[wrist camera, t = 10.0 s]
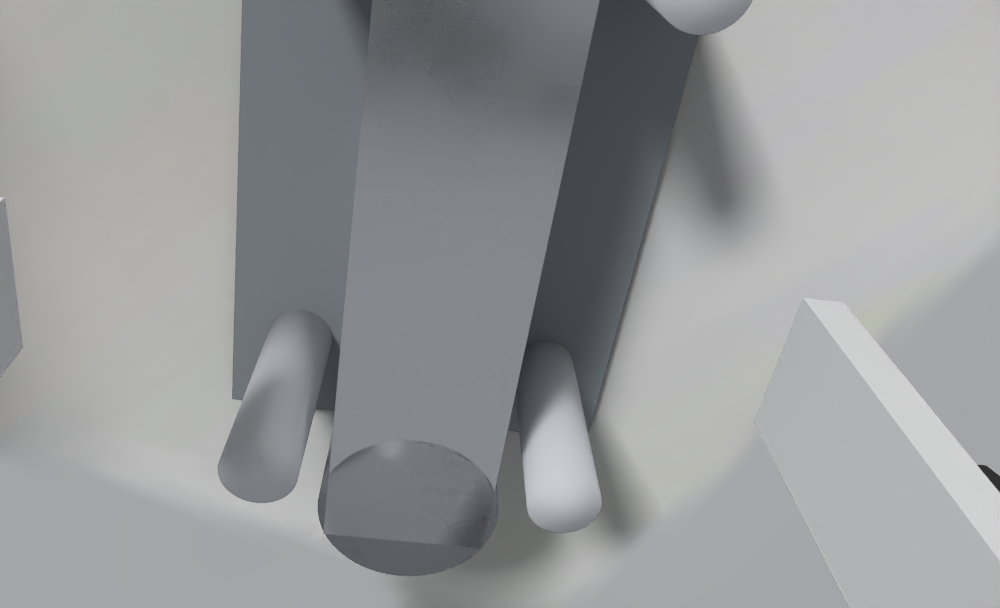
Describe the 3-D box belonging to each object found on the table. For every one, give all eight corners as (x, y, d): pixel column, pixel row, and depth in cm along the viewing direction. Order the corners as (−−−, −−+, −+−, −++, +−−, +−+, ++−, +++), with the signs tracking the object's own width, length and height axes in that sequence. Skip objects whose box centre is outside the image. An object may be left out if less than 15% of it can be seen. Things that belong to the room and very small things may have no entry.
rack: (235, 391, 26) (174, 545, 21) (253, -264, 18) (160, -305, 12) (585, 431, 27) (616, 586, 22) (747, -164, 19) (863, -160, 14)
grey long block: (478, 449, 27) (482, 583, 22) (338, 433, 27) (312, 567, 22) (598, -160, 19) (644, -156, 14) (399, -198, 18) (378, -207, 14)
